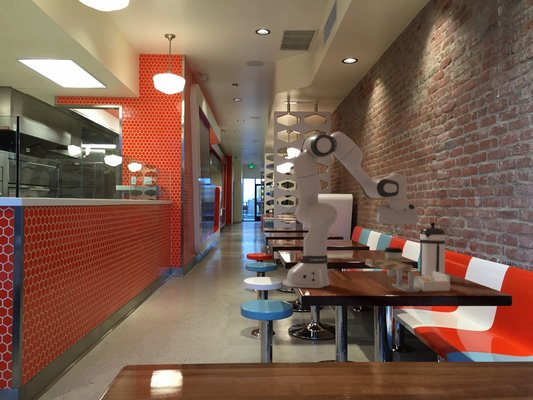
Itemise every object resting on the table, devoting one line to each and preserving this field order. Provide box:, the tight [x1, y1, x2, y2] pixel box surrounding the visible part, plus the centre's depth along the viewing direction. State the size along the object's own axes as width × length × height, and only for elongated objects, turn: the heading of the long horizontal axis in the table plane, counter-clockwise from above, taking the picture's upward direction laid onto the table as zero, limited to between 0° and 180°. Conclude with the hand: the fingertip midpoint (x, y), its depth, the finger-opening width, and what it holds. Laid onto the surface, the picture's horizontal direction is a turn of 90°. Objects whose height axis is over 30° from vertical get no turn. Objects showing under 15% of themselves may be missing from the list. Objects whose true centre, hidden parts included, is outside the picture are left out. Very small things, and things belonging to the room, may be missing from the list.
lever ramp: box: [365, 258, 417, 274], centre depth 197 cm, size 25×16×4 cm, turn 98°
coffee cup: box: [384, 247, 404, 278], centre depth 229 cm, size 10×10×15 cm
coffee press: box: [418, 222, 447, 276], centre depth 219 cm, size 17×16×30 cm
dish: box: [414, 271, 451, 292], centre depth 195 cm, size 13×14×7 cm
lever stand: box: [391, 270, 420, 293], centre depth 194 cm, size 6×15×8 cm, turn 8°
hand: (396, 233), depth 207 cm, fingers closed
